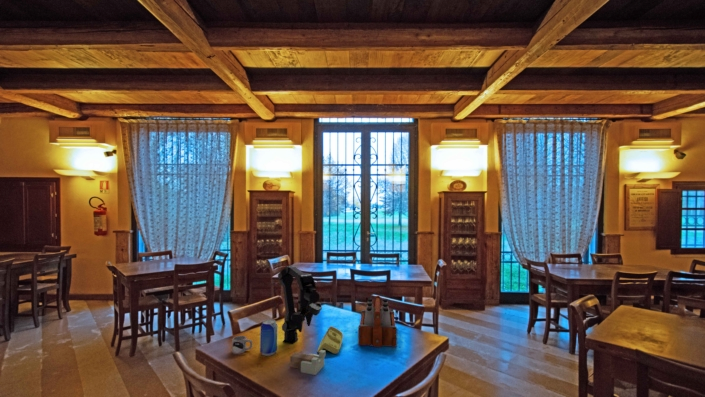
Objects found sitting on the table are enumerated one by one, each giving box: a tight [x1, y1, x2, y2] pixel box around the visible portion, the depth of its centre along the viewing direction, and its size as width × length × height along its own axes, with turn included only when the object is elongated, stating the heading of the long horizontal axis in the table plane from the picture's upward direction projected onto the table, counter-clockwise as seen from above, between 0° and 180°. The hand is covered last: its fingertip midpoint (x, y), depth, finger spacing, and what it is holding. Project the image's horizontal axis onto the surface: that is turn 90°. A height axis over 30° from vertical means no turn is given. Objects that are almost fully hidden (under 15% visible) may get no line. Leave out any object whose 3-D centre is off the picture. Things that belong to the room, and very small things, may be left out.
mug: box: [231, 335, 253, 355], centre depth 167 cm, size 10×7×7 cm, turn 94°
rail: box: [289, 352, 317, 370], centre depth 151 cm, size 12×4×5 cm, turn 71°
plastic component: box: [316, 325, 344, 355], centre depth 174 cm, size 20×7×10 cm
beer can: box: [259, 318, 278, 357], centre depth 165 cm, size 8×8×16 cm
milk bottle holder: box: [357, 295, 398, 348], centre depth 189 cm, size 21×35×19 cm, turn 175°
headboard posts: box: [300, 349, 327, 376], centre depth 149 cm, size 8×10×7 cm
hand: (304, 328), depth 167 cm, fingers open, 9 cm apart
